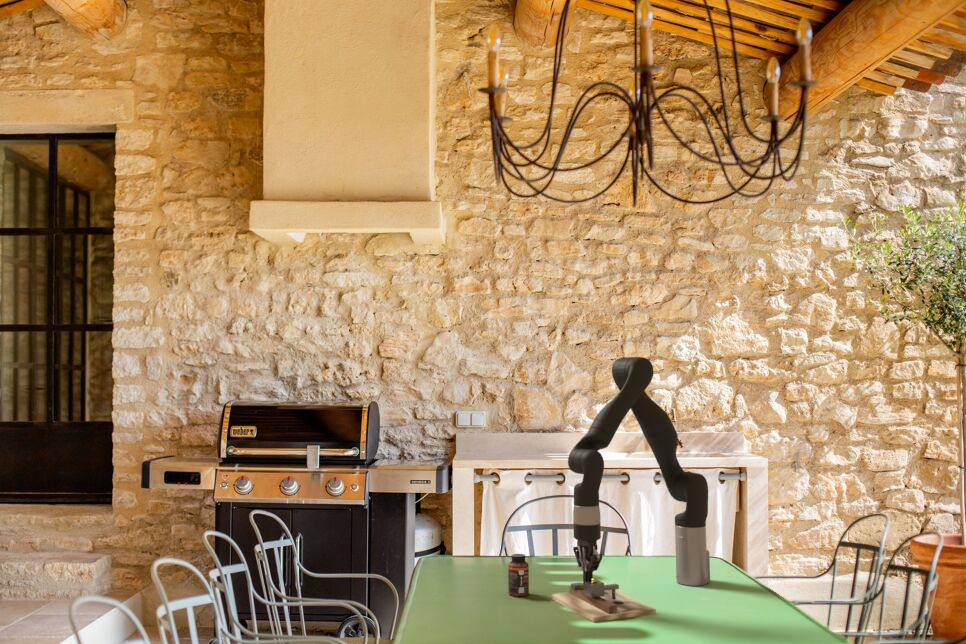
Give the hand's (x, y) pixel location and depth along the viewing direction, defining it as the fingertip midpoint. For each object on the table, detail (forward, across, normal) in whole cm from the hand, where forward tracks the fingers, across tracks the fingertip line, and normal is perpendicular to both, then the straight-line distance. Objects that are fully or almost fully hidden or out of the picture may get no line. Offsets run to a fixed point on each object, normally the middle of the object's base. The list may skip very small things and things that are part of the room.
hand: (588, 584), depth 220 cm
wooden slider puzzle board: (+6, -2, -3) cm, 7 cm away
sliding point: (+4, -3, -3) cm, 6 cm away
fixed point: (+4, +6, -3) cm, 8 cm away
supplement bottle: (+6, +18, +13) cm, 23 cm away
